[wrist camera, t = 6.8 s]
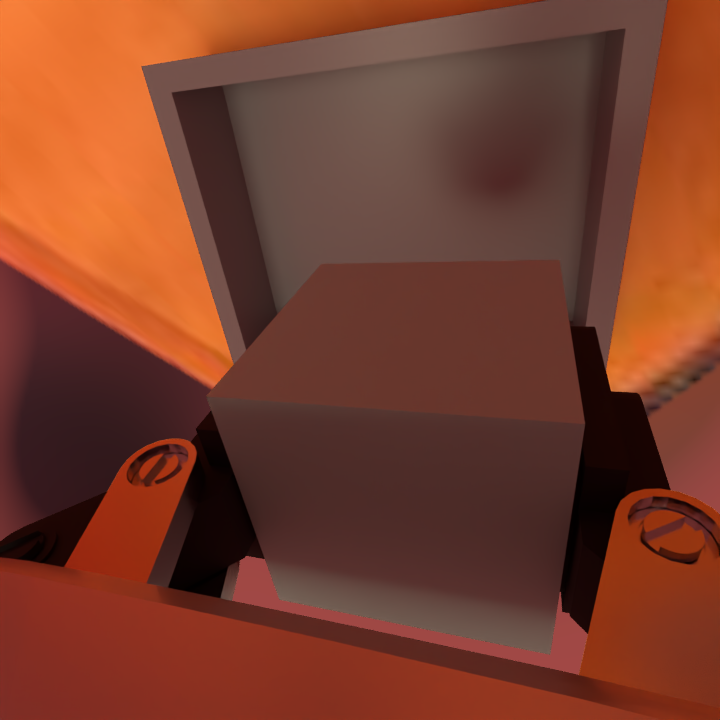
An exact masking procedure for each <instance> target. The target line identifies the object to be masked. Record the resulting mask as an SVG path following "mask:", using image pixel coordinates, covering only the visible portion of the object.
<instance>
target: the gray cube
mask: <svg viewBox="0 0 720 720" xmlns="http://www.w3.org/2000/svg"><path fill="white" fill-rule="evenodd" d="M206 397H207V400H208V402H209V405H210V408H211V411H212V414H213V416H214V419H215V422H216V425H217V428H218V430H219V433H220V436H221V439H222V441H223V444H224V447H225V450H226V453H227V455H228V458H229V461H230V464H231V466H232V469H233V472H234V475H235V477H236V480H237V483H238V486H239V489H240V491H241V494H242V497H243V500H244V502H245V505H246V508H247V511H248V514H249V516H250V519H251V522H252V525H253V527H254V530H255V533H256V536H257V538H258V541H259V544H260V547H261V550H262V552H263V555H264V558H265V561H266V563H267V566H268V569H269V571H270V574H271V577H272V580H273V583H274V585H275V588H276V591H277V593H278V597H279V599H280V600H284V601H289V602H294V603H299V604H304V605H309V606H314V607H319V608H323V609H329V610H333V611H338V612H343V613H349V614H353V615H358V616H363V617H368V618H373V619H378V620H383V621H387V622H392V623H398V624H402V625H407V626H412V627H417V628H422V629H427V630H432V631H437V632H442V633H446V634H451V635H456V636H462V637H466V638H471V639H476V640H481V641H486V642H491V643H496V644H501V645H506V646H510V647H516V648H521V649H525V650H530V651H535V652H540V653H545V654H550V652H551V645H552V639H553V632H554V626H555V618H556V612H557V605H558V599H559V592H560V586H561V580H562V573H563V566H564V560H565V553H566V547H567V540H568V533H569V527H570V520H571V514H572V507H573V500H574V494H575V487H576V481H577V474H578V468H579V461H580V454H581V448H582V441H583V435H584V428H585V420H584V414H583V407H582V401H581V395H580V388H579V382H578V375H577V369H576V362H575V356H574V349H573V343H572V336H571V330H570V324H569V317H568V311H567V304H566V298H565V291H564V285H563V278H562V272H561V266H560V260H515V261H457V262H399V263H341V264H321V265H320V266H319V267H318V268H317V269H316V271H315V272H314V273H313V274H312V275H311V276H310V277H309V279H308V280H307V281H306V282H305V283H304V284H303V286H302V287H301V288H300V289H299V290H298V291H297V292H296V294H295V295H294V296H293V297H292V298H291V299H290V301H289V302H288V303H287V304H286V305H285V306H284V307H283V309H282V310H281V311H280V312H279V313H278V314H277V315H276V317H275V318H274V319H273V320H272V321H271V322H270V324H269V325H268V326H267V327H266V328H265V329H264V330H263V332H262V333H261V334H260V335H259V336H258V337H257V339H256V340H255V341H254V342H253V343H252V344H251V345H250V347H249V348H248V349H247V350H246V351H245V352H244V354H243V355H242V356H241V357H240V358H239V359H238V360H237V362H236V363H235V364H234V365H233V366H232V367H231V369H230V370H229V371H228V372H227V373H226V374H225V375H224V377H223V378H222V379H221V380H220V381H219V382H218V383H217V385H216V386H215V387H214V388H213V389H212V390H211V392H210V393H209V394H208V395H207V396H206Z"/></svg>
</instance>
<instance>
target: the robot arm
mask: <svg viewBox="0 0 720 720" xmlns="http://www.w3.org/2000/svg"><path fill="white" fill-rule="evenodd" d="M570 330H571V336H572V343H573V349H574V356H575V362H576V369H577V375H578V382H579V388H580V395H581V401H582V407H583V414H584V420H585V428H584V435H583V441H582V448H581V454H580V461H579V468H578V474H577V481H576V487H575V494H574V500H573V507H572V514H571V520H570V527H569V533H568V540H567V547H566V553H565V560H564V566H563V573H562V580H561V586H560V592H561V598H562V612H566V613H570V616H571V618H572V619H573V620H574V621H575V622H576V623H577V624H578V625H579V626H580V627H582V629H584V630H585V632H587V634H588V637H587V641H586V645H585V650H584V654H583V659H582V663H581V668H580V672H579V675H576V674H572V673H568V672H563V671H559V670H554V669H550V668H545V667H540V666H535V665H531V664H526V663H522V662H517V661H513V660H508V659H503V658H498V657H494V656H489V655H484V654H480V653H475V652H471V651H466V650H461V649H457V648H452V647H448V646H443V645H438V644H434V643H429V642H424V641H420V640H415V639H410V638H406V637H401V636H397V635H391V634H387V633H382V632H378V631H373V630H368V629H364V628H358V627H354V626H349V625H344V624H340V623H335V622H330V621H326V620H321V619H316V618H311V617H307V616H302V615H296V614H292V613H287V612H283V611H278V610H273V609H269V608H263V607H259V606H254V605H249V604H245V603H240V602H235V601H232V598H233V594H234V590H235V585H236V581H237V576H238V572H239V565H240V560H241V559H243V558H245V556H251V557H256V558H262V559H265V558H264V555H263V552H262V550H261V547H260V544H259V541H258V538H257V536H256V533H255V530H254V527H253V525H252V522H251V519H250V516H249V514H248V511H247V508H246V505H245V502H244V500H243V497H242V494H241V491H240V489H239V486H238V483H237V480H236V477H235V475H234V472H233V469H232V466H231V464H230V461H229V458H228V455H227V453H226V450H225V447H224V444H223V441H222V439H221V436H220V433H219V430H218V428H217V425H216V422H215V419H214V416H213V414H212V411H210V413H209V414H208V415H207V416H206V417H205V419H204V420H203V421H202V422H201V423H200V425H199V426H198V427H197V428H196V431H197V433H198V434H197V435H196V436H195V437H194V439H193V440H192V441H191V442H189V441H186V440H183V439H167V440H162V441H158V442H155V443H153V444H150V445H147V446H146V447H144V448H142V449H140V450H139V451H137V452H136V453H135V454H133V455H132V456H131V457H130V458H129V459H127V461H126V462H125V463H124V465H123V466H122V467H121V469H120V470H119V472H118V474H117V476H116V477H115V479H114V481H113V483H112V484H111V486H110V488H109V490H108V491H107V492H105V493H102V494H100V495H98V496H95V497H93V498H91V499H88V500H86V501H84V502H81V503H79V504H76V505H74V506H72V507H69V508H67V509H65V510H62V511H60V512H58V513H55V514H53V515H51V516H48V517H46V518H44V519H41V520H39V521H36V522H34V523H32V524H29V525H27V526H25V527H23V528H21V529H19V530H17V531H15V532H13V533H11V534H10V535H9V536H7V537H6V538H4V539H3V540H2V541H0V720H720V514H719V513H718V512H716V511H715V510H714V509H713V508H712V507H710V506H708V505H706V504H705V503H703V502H701V501H700V500H698V499H696V498H694V497H691V496H688V495H685V494H683V493H680V492H677V491H671V490H670V487H669V483H668V480H667V477H666V474H665V471H664V468H663V465H662V462H661V459H660V455H659V452H658V449H657V446H656V443H655V440H654V437H653V434H652V431H651V427H650V424H649V421H648V418H647V415H646V412H645V408H644V405H643V402H642V399H641V397H640V395H639V394H638V393H629V392H611V390H610V386H609V382H608V378H607V374H606V369H605V365H604V361H603V357H602V353H601V349H600V345H599V340H598V336H597V332H596V328H595V327H591V326H570Z"/></svg>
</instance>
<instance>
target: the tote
mask: <svg viewBox="0 0 720 720" xmlns="http://www.w3.org/2000/svg"><path fill="white" fill-rule="evenodd" d="M667 2H668V0H546V1H539V2H533V3H527V4H521V5H515V6H509V7H503V8H497V9H490V10H484V11H478V12H472V13H466V14H460V15H454V16H448V17H441V18H435V19H429V20H423V21H417V22H411V23H405V24H399V25H392V26H386V27H380V28H374V29H368V30H362V31H356V32H350V33H343V34H337V35H331V36H325V37H319V38H313V39H307V40H301V41H294V42H288V43H282V44H276V45H270V46H264V47H258V48H251V49H245V50H239V51H233V52H227V53H221V54H215V55H209V56H202V57H196V58H190V59H184V60H178V61H172V62H166V63H160V64H153V65H147V66H141V67H142V70H143V73H144V76H145V80H146V83H147V86H148V89H149V93H150V96H151V99H152V102H153V105H154V109H155V112H156V115H157V118H158V122H159V125H160V128H161V131H162V134H163V138H164V141H165V144H166V147H167V151H168V154H169V157H170V160H171V163H172V167H173V170H174V173H175V176H176V179H177V183H178V186H179V189H180V192H181V196H182V199H183V202H184V205H185V208H186V212H187V215H188V218H189V221H190V225H191V228H192V231H193V234H194V237H195V241H196V244H197V247H198V250H199V254H200V257H201V260H202V263H203V266H204V270H205V273H206V276H207V279H208V283H209V286H210V289H211V292H212V295H213V299H214V302H215V305H216V308H217V311H218V315H219V318H220V321H221V324H222V328H223V331H224V334H225V337H226V340H227V344H228V347H229V350H230V353H231V357H232V360H233V363H234V364H235V363H236V362H237V360H238V359H239V358H240V357H241V356H242V355H243V354H244V352H245V351H246V350H247V349H248V348H249V347H250V345H251V344H252V343H253V342H254V341H255V340H256V339H257V337H258V336H259V335H260V334H261V333H262V332H263V330H264V329H265V328H266V327H267V326H268V325H269V324H270V322H271V321H272V320H273V319H274V318H275V317H276V315H277V314H278V313H279V312H280V311H281V310H282V309H283V307H284V306H285V305H286V304H287V303H288V302H289V301H290V299H291V298H292V297H293V296H294V295H295V294H296V292H297V291H298V290H299V289H300V288H301V287H302V286H303V284H304V283H305V282H306V281H307V280H308V279H309V277H310V276H311V275H312V274H313V273H314V272H315V271H316V269H317V268H318V267H319V266H320V265H321V264H341V263H399V262H457V261H515V260H560V266H561V272H562V278H563V285H564V291H565V298H566V304H567V311H568V317H569V324H570V326H591V327H595V328H596V332H597V336H598V340H599V345H600V349H601V353H602V357H603V361H604V365H605V369H606V366H607V361H608V355H609V349H610V343H611V337H612V331H613V325H614V319H615V313H616V307H617V301H618V295H619V289H620V283H621V277H622V271H623V265H624V259H625V253H626V247H627V241H628V235H629V229H630V223H631V217H632V211H633V205H634V199H635V193H636V187H637V181H638V175H639V169H640V163H641V157H642V151H643V145H644V139H645V133H646V127H647V121H648V116H649V110H650V104H651V98H652V92H653V86H654V80H655V74H656V68H657V62H658V56H659V50H660V44H661V38H662V32H663V26H664V20H665V14H666V8H667Z"/></svg>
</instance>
